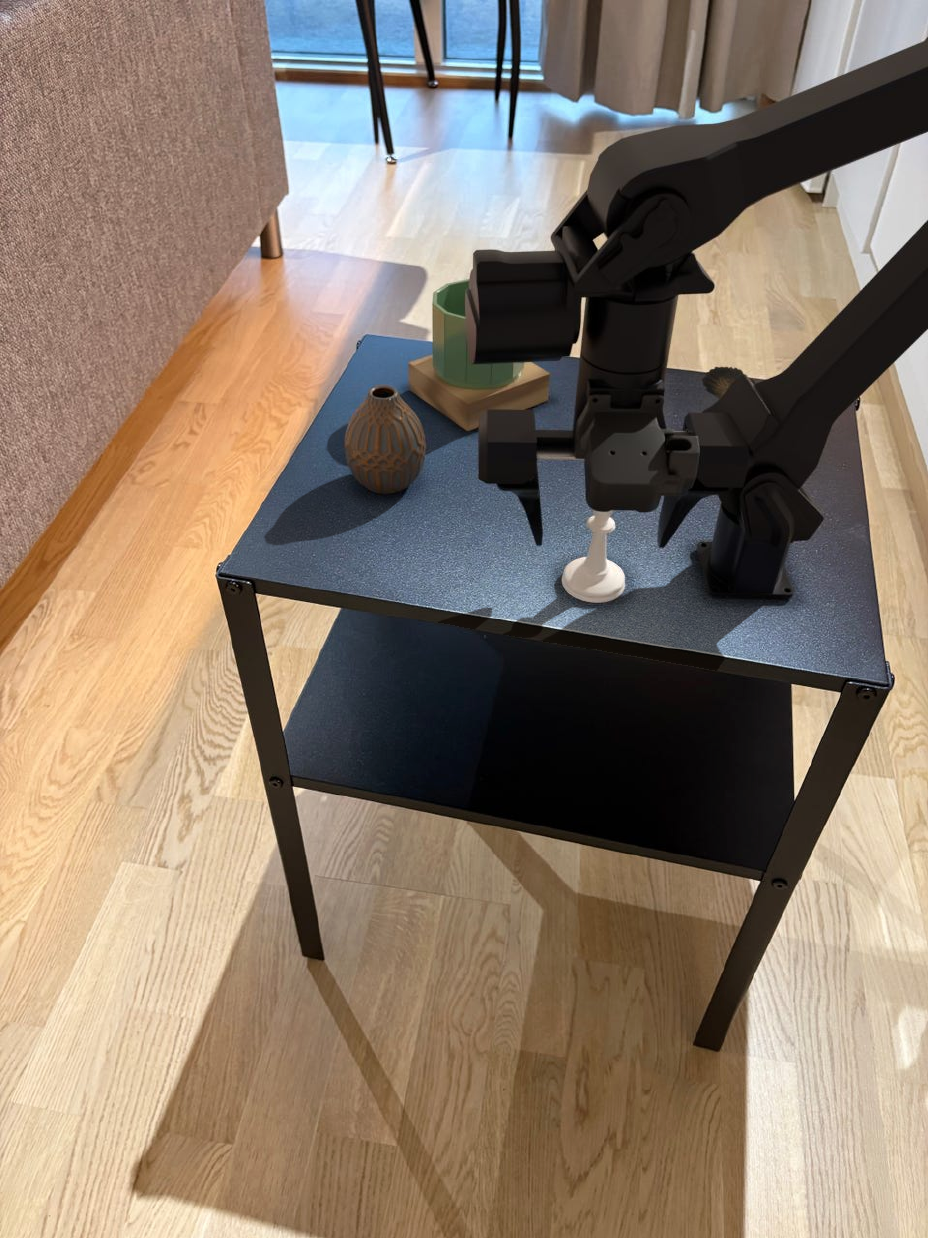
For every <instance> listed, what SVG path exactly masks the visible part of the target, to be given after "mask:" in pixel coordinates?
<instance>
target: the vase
mask: <svg viewBox="0 0 928 1238" xmlns="http://www.w3.org/2000/svg"><path fill="white" fill-rule="evenodd" d="M426 443H427V442H426V436H425V432H424V428H423V425H422V423H421V420H420V418H419V417H418V415H417V414H416V412H415V411H414V410H413V409H412V408H411V407H410V406H409V405H408V404H407V403H406V402H405V401H404V400H403V398H402V397H401V395H400V393H399V391H398V389H396V388H395V387H393V386H391V385H384V384H381V385H376V386H373V387H371V388H370V389H369V390H368V392H367V395H366V397H365V398H364V401H363V402H362V403H361V404H360V405H359V406H358V407H357V409H356V410H355V411H354V413H353V414H352V416H351V417H350V420H349V421H348V424H347V427H346V431H345V435H344V453H345V459H346V462H347V465H348V468H349V470H350V473H351V474H352V475H353V477H354V478H355V480H356V481H357V482H358V483H359V484H360V485H361V486H363V487H364V488H366V489H368V490H370V491H371V492H374V493H377V494H382V495H383V494H384V495H386V494H395V493H398V492H402V491H404V490H405V489H406V488H407V487H409V486H410V485H412V484H413V483H414V482H415V481H416V479H417V478H418V477H419V475H420V473H421V472H422V469H423V466H424V463H425V459H426V450H427V448H426V447H427V446H426V445H427V444H426Z"/></svg>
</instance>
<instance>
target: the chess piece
mask: <svg viewBox="0 0 928 1238" xmlns="http://www.w3.org/2000/svg"><path fill="white" fill-rule="evenodd" d="M592 511H593V515H592V516H590V517H589V518H587V521H586V528H587V529H588V530H589V531H590V532H592V535H591V540H590V544H589V547H588V550H587V553H586V556H582V557H578V558H575V559H573V560H572V561H570V562H569V563H568V564H567V565H566V566H565V567H564V569H563V573H562V576H561V584H562V587H563V588H564V590H565V591H566V592H567V593H568V594H569V595H570V596H572V597H573V598H575V599H577V600H580V601H583V602H586V603H594V604H595V603H596V604H598V603H599V604H601V603H606V602H607V603H608V602H611V601H614V600H615V599H617V598H618V597H621V595H622V594H623V593H624V591H625V589H626V576H625V573H624V571H623V570H622V568H621V567H620V566H619V565H618V564H616V563H615V562H614V561H612V560H610V559H607V556H608V555H607V536H608V535H607V534H610V533H612V532H614V531H615V529H616V523H615V520H614V519H613V518H612V517H611V516H612V514H613V512H614V510H611V511H609V512H599V511H595V510H593V509H592Z"/></svg>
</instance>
